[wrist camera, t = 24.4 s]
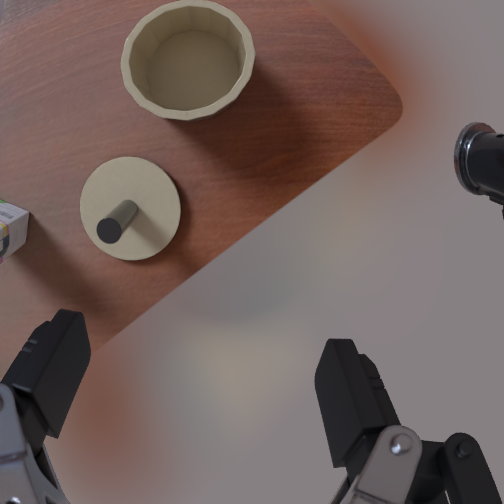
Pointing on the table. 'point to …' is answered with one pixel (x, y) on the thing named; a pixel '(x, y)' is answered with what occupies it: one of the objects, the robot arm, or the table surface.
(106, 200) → the lid
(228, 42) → the canister
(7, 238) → the ink box
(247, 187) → the table surface
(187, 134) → the table surface
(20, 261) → the table surface
